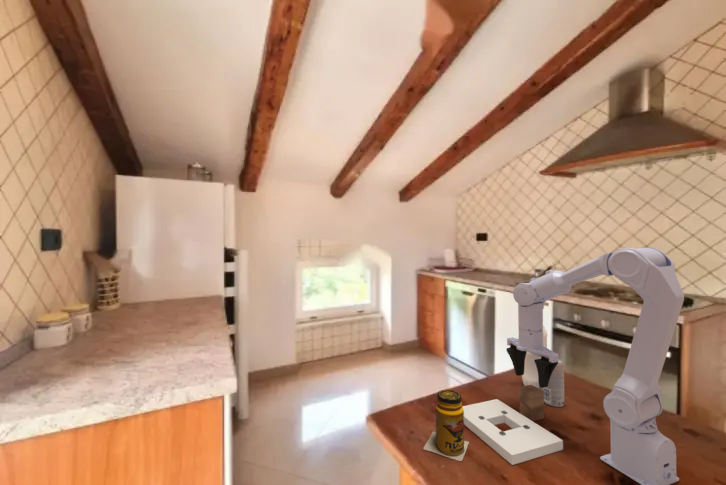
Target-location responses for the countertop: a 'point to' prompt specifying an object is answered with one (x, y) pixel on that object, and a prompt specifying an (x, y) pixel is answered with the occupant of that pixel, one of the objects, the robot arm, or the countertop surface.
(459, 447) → the condiment
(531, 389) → the walnut peg
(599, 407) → the countertop surface
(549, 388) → the energy drink
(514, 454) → the hole board
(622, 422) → the robot arm
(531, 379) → the water bottle
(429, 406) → the countertop surface
